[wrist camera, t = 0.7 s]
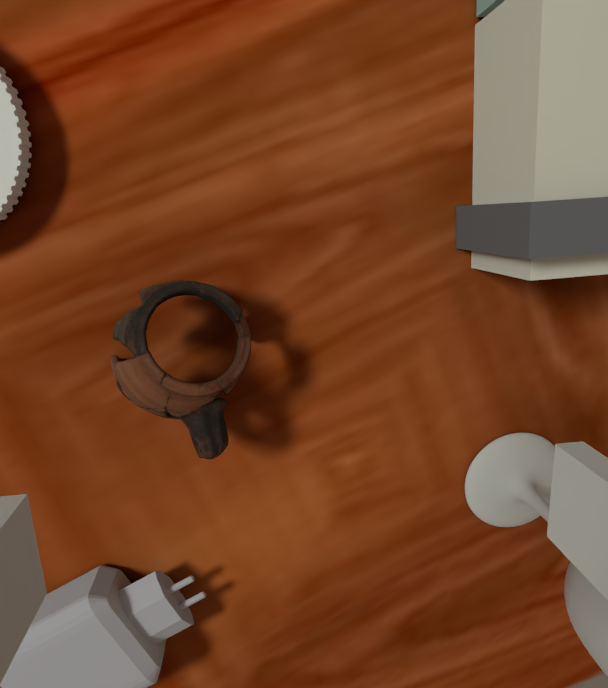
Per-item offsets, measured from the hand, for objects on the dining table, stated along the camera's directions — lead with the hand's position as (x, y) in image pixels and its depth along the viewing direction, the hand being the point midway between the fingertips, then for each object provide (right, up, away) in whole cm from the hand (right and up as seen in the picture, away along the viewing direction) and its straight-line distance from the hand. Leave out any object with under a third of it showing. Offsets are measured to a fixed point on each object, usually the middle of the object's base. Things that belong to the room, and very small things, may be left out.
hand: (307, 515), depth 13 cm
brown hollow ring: (-9, +3, +24) cm, 26 cm away
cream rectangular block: (+16, +18, +23) cm, 33 cm away
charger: (-15, -17, +29) cm, 37 cm away
